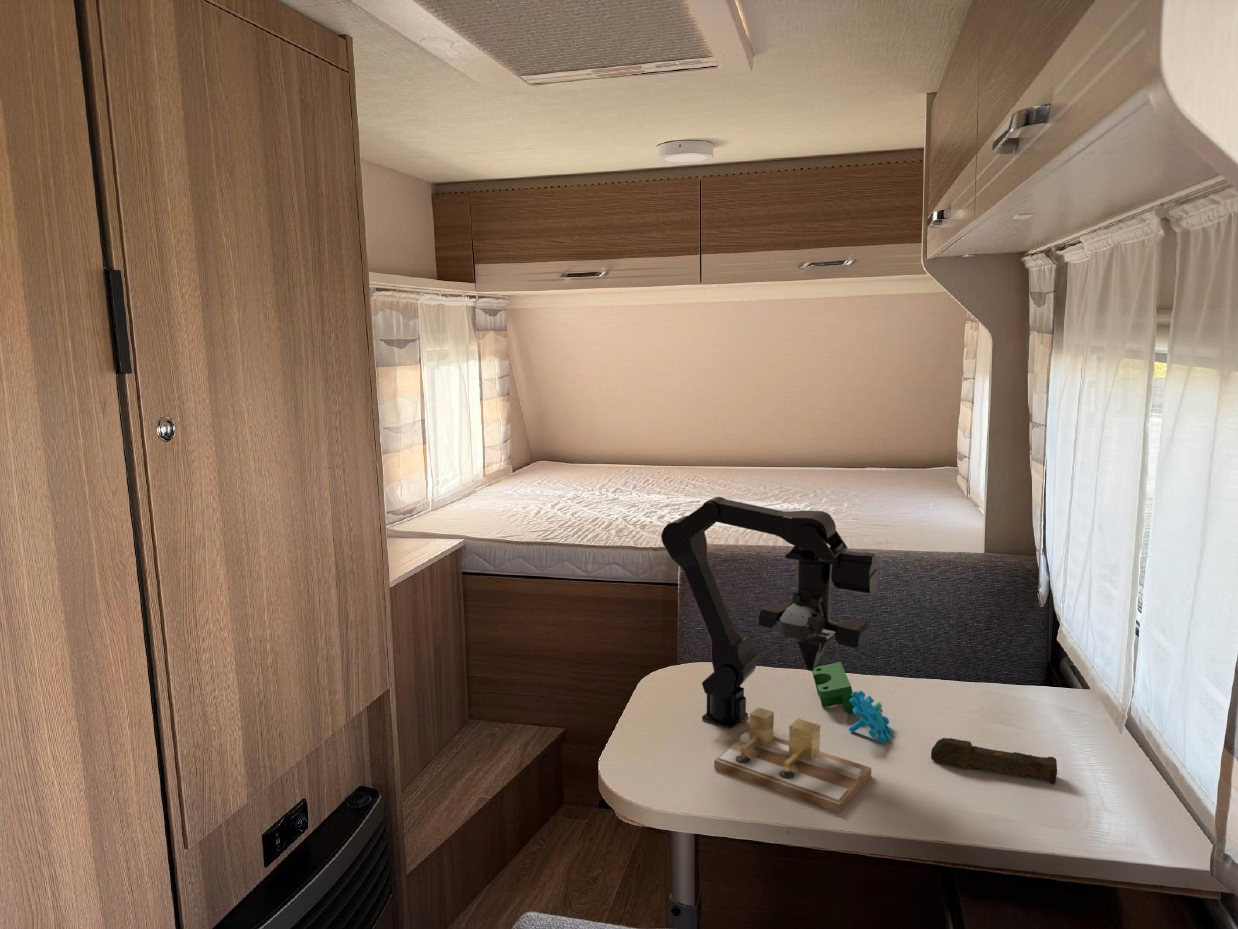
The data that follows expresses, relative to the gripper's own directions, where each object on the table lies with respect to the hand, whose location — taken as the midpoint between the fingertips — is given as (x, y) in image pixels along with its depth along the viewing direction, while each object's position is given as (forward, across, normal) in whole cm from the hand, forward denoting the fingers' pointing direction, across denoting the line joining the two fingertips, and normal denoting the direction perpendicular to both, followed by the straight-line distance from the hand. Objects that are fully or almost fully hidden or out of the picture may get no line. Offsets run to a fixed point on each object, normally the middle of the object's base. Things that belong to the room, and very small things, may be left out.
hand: (811, 670), depth 150 cm
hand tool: (+14, +29, +7) cm, 33 cm away
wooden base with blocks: (+13, +2, -12) cm, 18 cm away
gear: (+13, +8, +8) cm, 18 cm away
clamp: (+13, -2, +16) cm, 21 cm away
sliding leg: (+11, +3, -12) cm, 17 cm away
